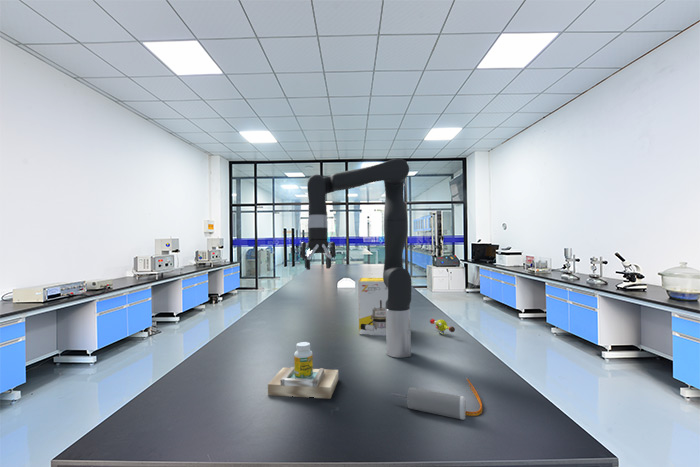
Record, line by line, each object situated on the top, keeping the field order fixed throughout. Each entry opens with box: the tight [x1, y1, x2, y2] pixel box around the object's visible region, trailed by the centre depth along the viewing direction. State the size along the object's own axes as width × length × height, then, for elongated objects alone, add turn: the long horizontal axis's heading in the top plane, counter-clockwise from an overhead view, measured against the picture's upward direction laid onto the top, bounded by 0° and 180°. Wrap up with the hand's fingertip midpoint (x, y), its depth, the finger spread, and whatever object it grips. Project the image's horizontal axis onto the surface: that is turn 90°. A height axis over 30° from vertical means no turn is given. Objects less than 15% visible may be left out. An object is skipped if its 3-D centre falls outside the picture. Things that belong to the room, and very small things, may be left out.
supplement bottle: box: [293, 341, 314, 379], centre depth 90 cm, size 5×5×10 cm
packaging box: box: [357, 277, 388, 336], centre depth 151 cm, size 16×16×25 cm
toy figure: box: [429, 318, 456, 336], centre depth 143 cm, size 18×6×7 cm, turn 17°
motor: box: [390, 377, 483, 421], centre depth 85 cm, size 23×22×5 cm
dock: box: [267, 366, 339, 400], centre depth 91 cm, size 18×12×4 cm
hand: (318, 269), depth 118 cm, fingers open, 8 cm apart
